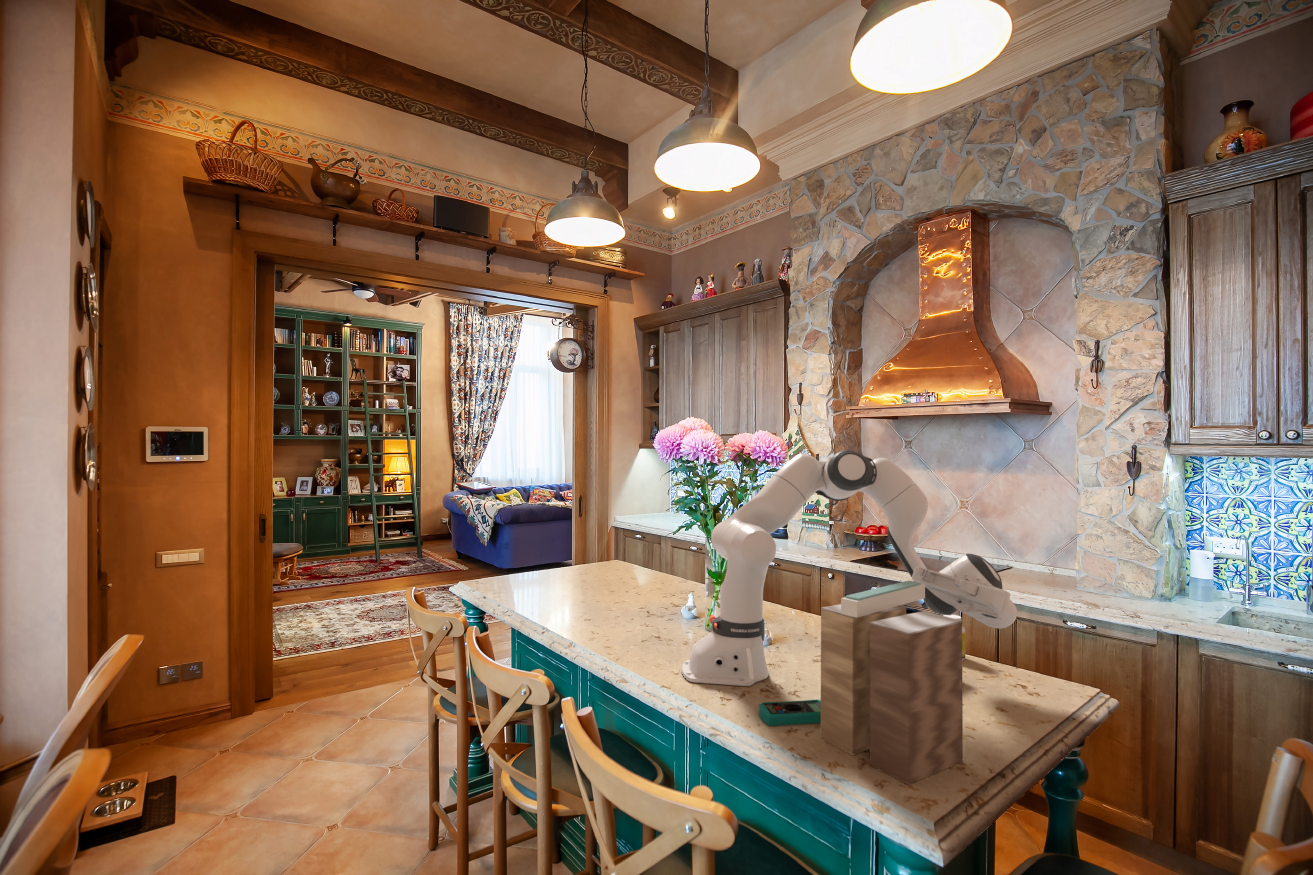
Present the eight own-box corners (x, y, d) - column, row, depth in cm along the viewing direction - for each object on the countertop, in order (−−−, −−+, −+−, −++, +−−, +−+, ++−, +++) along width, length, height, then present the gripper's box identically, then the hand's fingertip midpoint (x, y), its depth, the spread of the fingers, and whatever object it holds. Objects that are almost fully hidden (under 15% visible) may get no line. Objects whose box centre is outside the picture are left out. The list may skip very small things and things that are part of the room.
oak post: (873, 720, 130) (873, 598, 130) (906, 735, 123) (906, 606, 124) (820, 737, 121) (821, 607, 122) (852, 755, 115) (852, 616, 115)
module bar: (909, 595, 134) (909, 579, 134) (924, 598, 131) (924, 582, 131) (840, 613, 117) (840, 596, 117) (856, 617, 115) (856, 599, 115)
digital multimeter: (756, 713, 134) (756, 700, 134) (820, 710, 135) (820, 697, 136) (766, 728, 126) (766, 714, 126) (834, 725, 128) (834, 711, 128)
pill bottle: (963, 655, 173) (963, 614, 173) (967, 662, 167) (966, 620, 167) (938, 652, 175) (938, 612, 175) (941, 659, 169) (941, 618, 169)
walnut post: (924, 743, 119) (923, 610, 120) (962, 761, 113) (962, 620, 113) (869, 764, 111) (870, 621, 112) (908, 785, 104) (907, 633, 105)
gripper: (935, 571, 152) (903, 552, 145) (1017, 595, 134) (986, 575, 128) (926, 595, 151) (894, 577, 144) (1009, 622, 133) (976, 603, 127)
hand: (938, 576), depth 136 cm, fingers open, 8 cm apart
